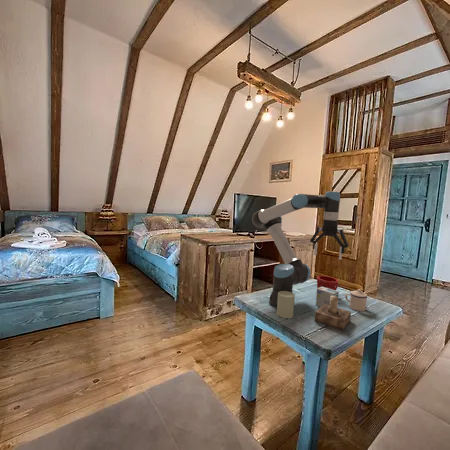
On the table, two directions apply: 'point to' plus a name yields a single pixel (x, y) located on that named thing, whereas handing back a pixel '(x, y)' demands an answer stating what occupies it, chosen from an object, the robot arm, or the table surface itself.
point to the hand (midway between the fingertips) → (327, 257)
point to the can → (285, 304)
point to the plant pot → (327, 282)
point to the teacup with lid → (357, 300)
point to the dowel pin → (333, 304)
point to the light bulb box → (325, 296)
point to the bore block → (333, 317)
